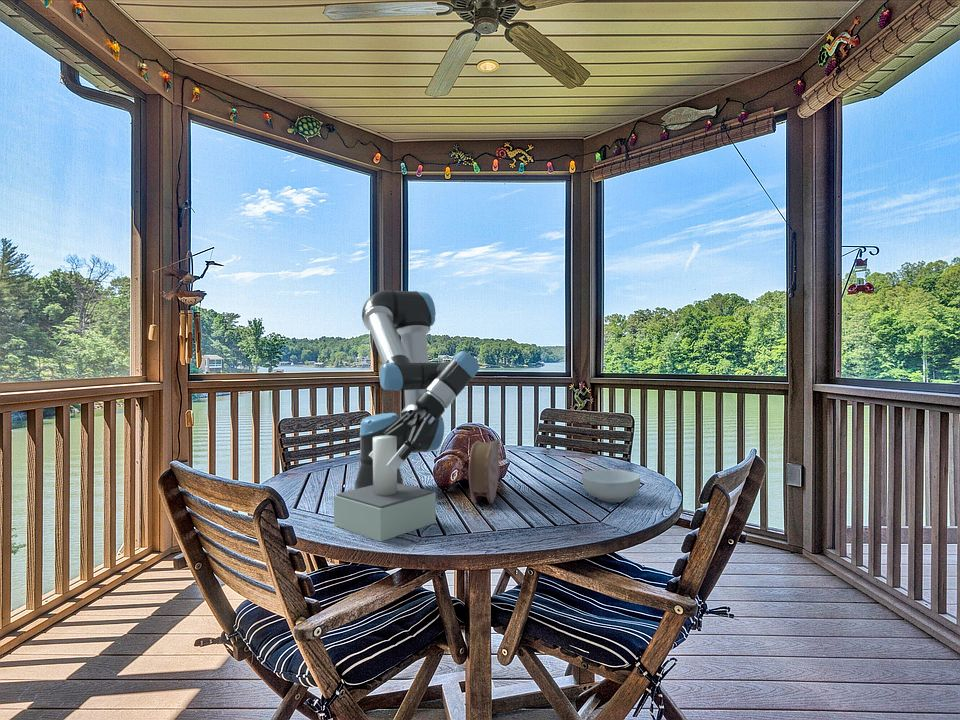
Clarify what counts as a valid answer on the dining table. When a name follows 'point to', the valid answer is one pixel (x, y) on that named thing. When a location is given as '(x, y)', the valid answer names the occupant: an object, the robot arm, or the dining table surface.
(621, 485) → the cereal bowl
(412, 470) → the dining table surface
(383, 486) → the post
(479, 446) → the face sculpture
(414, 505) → the block
